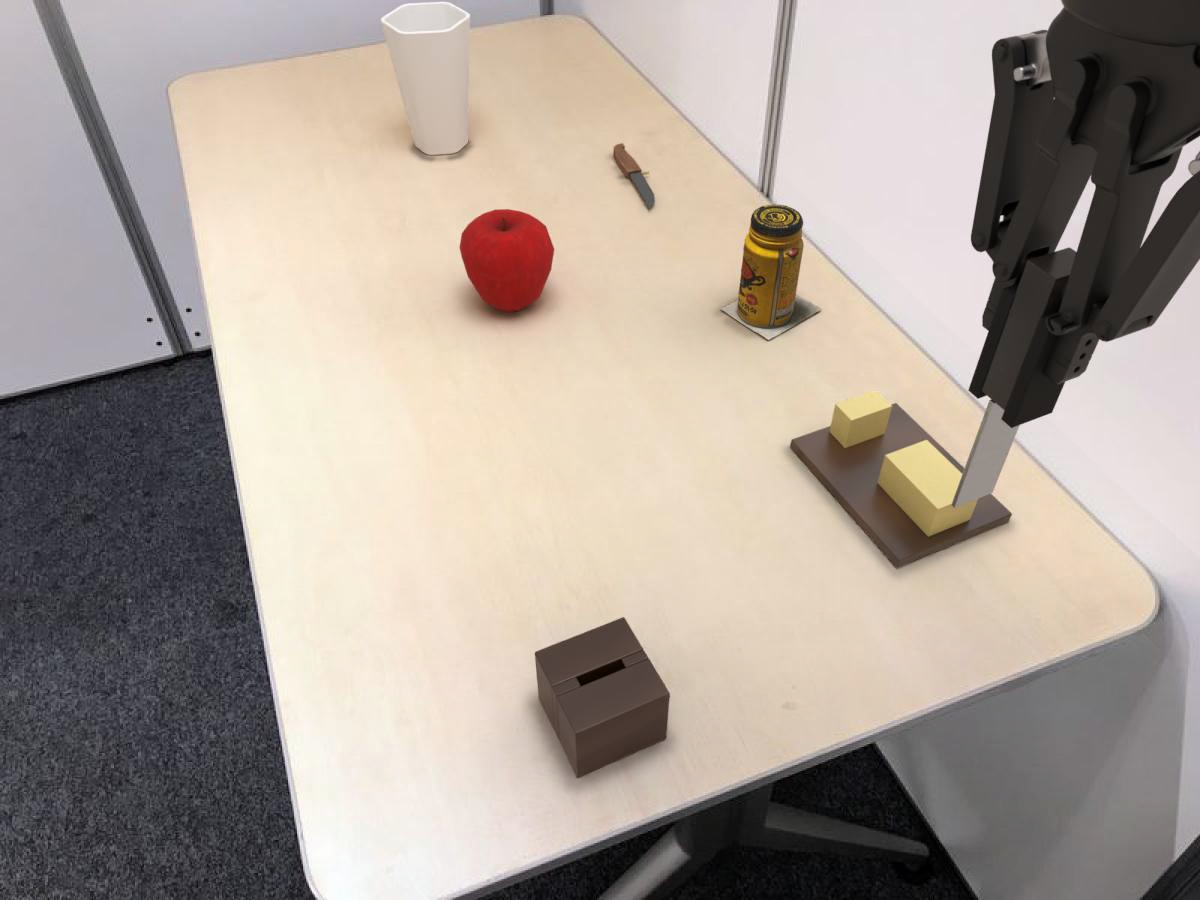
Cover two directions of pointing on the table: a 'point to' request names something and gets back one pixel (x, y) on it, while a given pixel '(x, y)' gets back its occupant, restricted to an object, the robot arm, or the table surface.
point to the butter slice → (860, 418)
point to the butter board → (867, 501)
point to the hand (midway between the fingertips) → (1009, 400)
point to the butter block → (924, 487)
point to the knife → (633, 173)
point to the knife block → (602, 696)
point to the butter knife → (1012, 369)
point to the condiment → (771, 273)
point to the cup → (432, 72)
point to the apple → (507, 258)
